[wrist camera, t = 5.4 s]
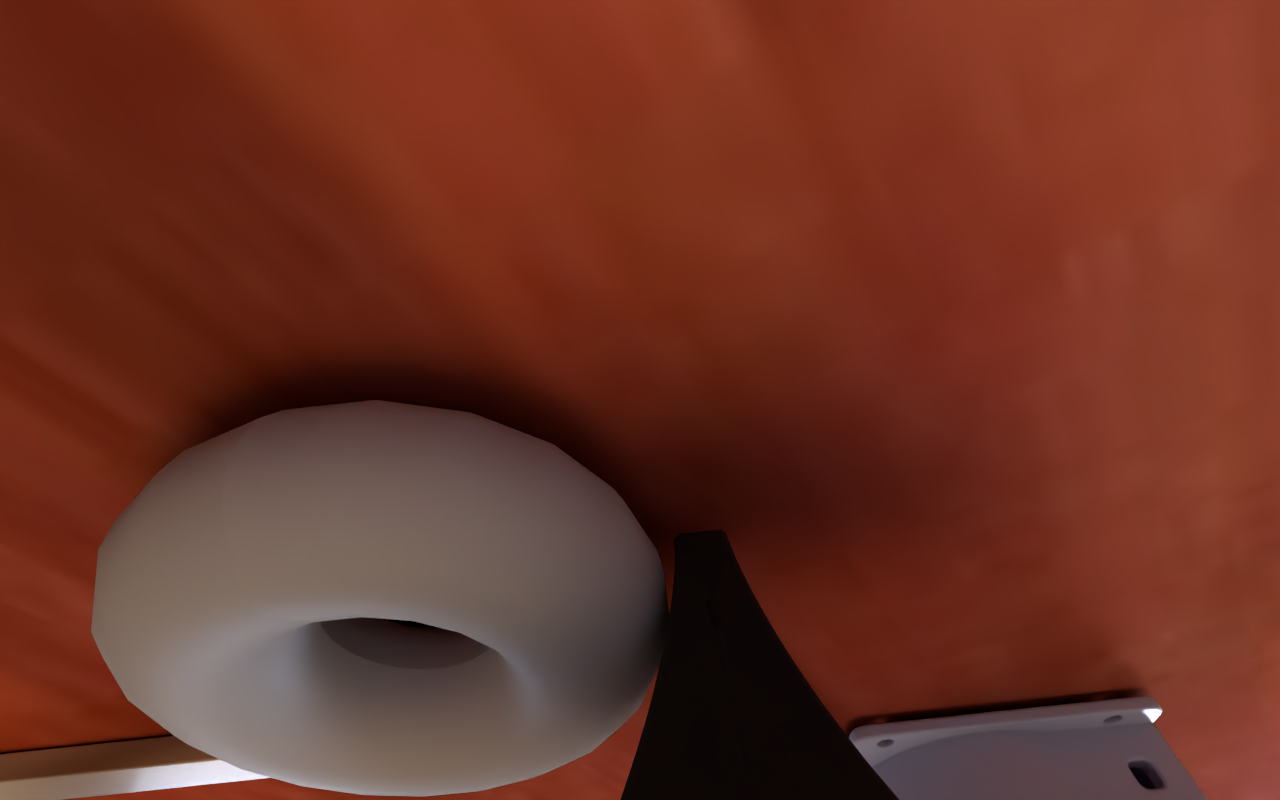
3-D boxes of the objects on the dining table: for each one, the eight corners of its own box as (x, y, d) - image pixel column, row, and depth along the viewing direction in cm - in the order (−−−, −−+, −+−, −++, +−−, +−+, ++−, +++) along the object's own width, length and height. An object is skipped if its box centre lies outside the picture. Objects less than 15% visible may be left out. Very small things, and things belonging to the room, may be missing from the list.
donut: (430, 705, 17) (744, 583, 14) (395, 851, 14) (776, 740, 11) (58, 512, 12) (436, 245, 9) (-109, 687, 9) (355, 390, 6)
